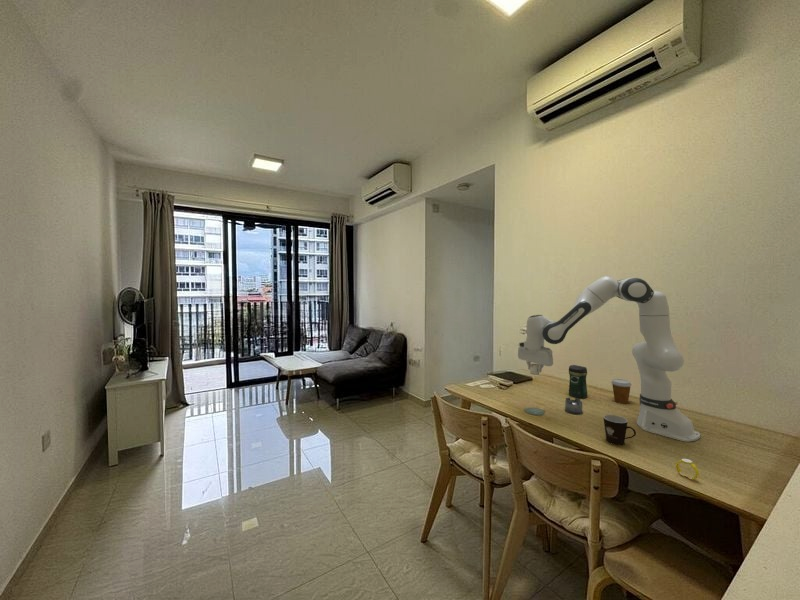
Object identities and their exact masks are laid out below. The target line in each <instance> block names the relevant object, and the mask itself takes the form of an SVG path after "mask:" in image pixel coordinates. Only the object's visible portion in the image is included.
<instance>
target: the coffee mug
mask: <svg viewBox="0 0 800 600" xmlns="http://www.w3.org/2000/svg"><path fill="white" fill-rule="evenodd" d="M602 416H603V417H602V418H603V425H604V431H605V439H606V441H608V442H607V443H609V444H611V443H612V444H611V445H614V444H615V445H614V446H624V445H625V442H626V440H627V439H628V440H629V439H632V438H634V437H636V435H637V433H636V430H635V429H634V428H633V427H632V426H628V419H627V418H626V417H624V416H621V415H615V414H604V415H602ZM628 429H629V430H630V429H631V430H632V431H633V435H630V436H627V435H626V434H627V430H628ZM626 436H627V437H626ZM623 444H624V445H623Z"/></svg>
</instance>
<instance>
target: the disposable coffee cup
mask: <svg viewBox="0 0 800 600" xmlns="http://www.w3.org/2000/svg"><path fill="white" fill-rule="evenodd" d="M611 385H612V390H613V392H612V393H613V398H614V402H616V403H618V404H624V405H625V404H628V403H629V398H630V393H631V387H632V382H631V381H630V380H628V379H624V378H623V379H620V378H612V380H611Z"/></svg>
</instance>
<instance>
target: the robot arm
mask: <svg viewBox="0 0 800 600" xmlns="http://www.w3.org/2000/svg"><path fill="white" fill-rule="evenodd" d="M614 298H618V299H621V300H624V301H625V302H626V301H627V302H635V303H636V305H638V312H639V313H638V316H639V318H638V320H639V332H640V333H641V335H642V336H643V337H644V340H645V341H641V342H637V343H635V344H634V345H633V347H632V349H631V353H632V356H633V358H634V359H635V361H636V365H637V368H638V371H639V376H640V377H639V378H640V393H639V406H640V407H639V414H638V417H637V420H636V421H635V422H636V424H637V425H638V426H639V427H640V428H641V429H642V431H646V432H647V433H653V434H655V435H660V436H663V437H666V438H670V439H674V440H677V441H681V442H684V443H685V442H689V443H690V442H695V441H698V440H699V439H700V438H701V433H700V432H699V431H696V430H694V429H695V428H694V425H693V422H692V420H691V419H690V418H688V416H686V415H685V414H684V413H682V412H681V410H679V409H678V408H677V405H678V403H679V402H678V401H674V400H673V399H672V382H671V379H670V377H668V374H667V372H669V373H670V372H676V371H680V369H681V368H682V367H683V366H684V362H685V359H684V357H683V354H681V352H680V351H679V350H678V348H677V346H676V343H675V341H674V338H673V336H672V335H673V334H672V331H671V318H670V307H669V306H670V305H669V303H668V299H667V295H666V294H665V293H664V292H662V291H659V290H653V288H652V287H651V286H650V284H649V283H648V282H647V281H646V280H645V279H642V278H640V277H627V278H623V279H620V280H616V279H615V278H613V277H611V276H608V275H605V276H601V277H600V278H598V279H597V280H595V281H593V282H591V284H589V285H588V286H587V287H586V288H584V289H583V291H581V292H580V294H579V295H577V298H576V300H575V301H574V304H573V306H572V308H571V309H570V310H569V311H568V312H566V313H565V314H564V315H563V316H562V317H561V318H560V319H558V320H557V321H555V320H552V319H550V318H547V317H545V315H543V314H534V315H530V316H528V317H527V319H526V330H525V331H526V339H525V341H521V342H518V350H517V357H518V359H519V360H522V361H526V365H527V367H528V368H527V369H528V370H530V364H532V363H534V364H539V368H538V369H537V372H539V373H542V371H543V368H544V366H545V367H551V366H553V365H554V358H553V357H554V356H553V350H552V349H551V348H550V347H547V346H545V341H546V342H547V343H548V344H551V345H557V344H561V343H562V342H563V341H564V340H565V338H566V336H567V333H568V332H569V331H570V330H571V329H572V328H573V327H575V325H576V324H578V323H579V322H580V321H581V320H582V319H583V318H585V317H586V316H588V315H590V314H592V313H593V312H595V311H597V310H599V308H601V307H603V306H604V305H605V304H606V303H607V302H609V301H610V300H611V299H614Z"/></svg>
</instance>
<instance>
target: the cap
mask: <svg viewBox="0 0 800 600" xmlns="http://www.w3.org/2000/svg"><path fill="white" fill-rule="evenodd" d="M539 367H540V366H539V364H537V363H533V362H531V364H530V371H529V372H530V373H529V374H530V375H533V376H537V375H540V372H537V369H538V368H539Z"/></svg>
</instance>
